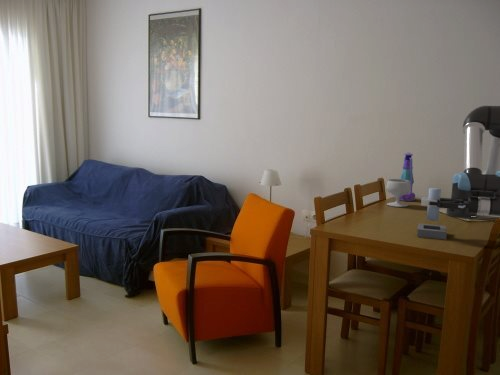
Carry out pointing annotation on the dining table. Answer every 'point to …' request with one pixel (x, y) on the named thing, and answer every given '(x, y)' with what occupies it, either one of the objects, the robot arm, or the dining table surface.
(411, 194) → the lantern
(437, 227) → the socket block
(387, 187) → the chalice
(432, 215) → the peg
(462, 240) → the dining table surface
